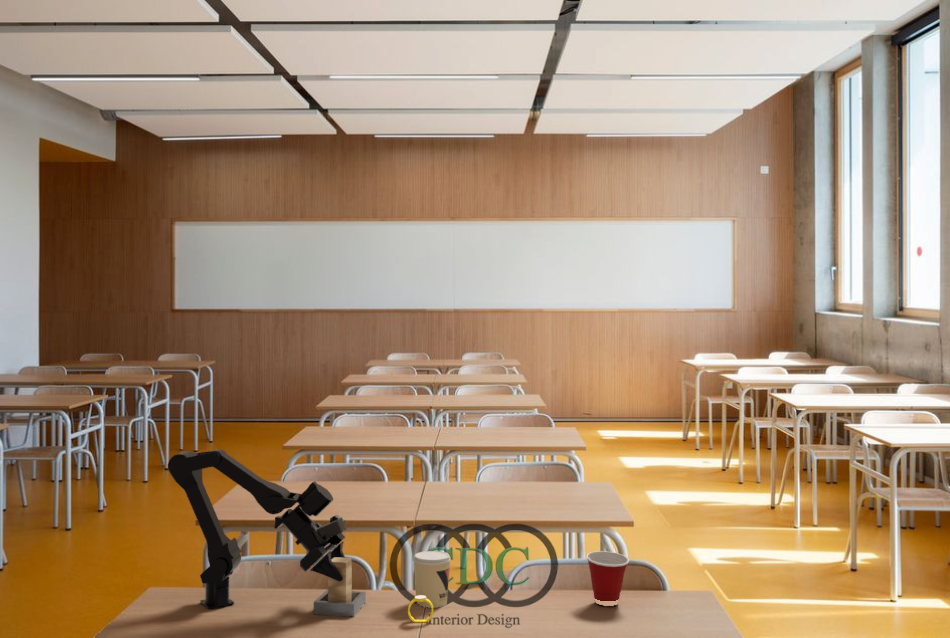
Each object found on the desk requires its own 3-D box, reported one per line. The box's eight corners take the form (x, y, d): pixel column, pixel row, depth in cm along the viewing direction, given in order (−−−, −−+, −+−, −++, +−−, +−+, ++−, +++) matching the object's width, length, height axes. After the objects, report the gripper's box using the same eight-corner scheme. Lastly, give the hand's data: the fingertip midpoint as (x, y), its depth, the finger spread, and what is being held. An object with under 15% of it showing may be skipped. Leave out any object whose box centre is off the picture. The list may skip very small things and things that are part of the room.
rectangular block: (328, 611, 212) (328, 561, 213) (334, 605, 217) (334, 557, 217) (345, 612, 212) (346, 562, 212) (351, 606, 216) (351, 557, 216)
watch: (408, 625, 204) (406, 599, 204) (408, 621, 207) (407, 595, 207) (433, 623, 205) (432, 597, 205) (433, 619, 207) (432, 594, 207)
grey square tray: (313, 614, 210) (313, 601, 210) (327, 601, 220) (327, 589, 220) (353, 616, 209) (354, 604, 209) (365, 603, 218) (365, 591, 219)
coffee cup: (445, 610, 214) (445, 561, 214) (408, 607, 216) (409, 558, 216) (453, 598, 223) (454, 551, 224) (418, 596, 225) (419, 549, 226)
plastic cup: (605, 613, 213) (605, 564, 214) (576, 601, 222) (577, 554, 223) (638, 606, 219) (638, 558, 219) (608, 594, 228) (609, 548, 229)
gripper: (313, 514, 206) (358, 564, 204) (337, 499, 224) (378, 545, 223) (281, 546, 207) (325, 596, 205) (307, 529, 226) (348, 574, 224)
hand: (346, 576), depth 214 cm, fingers open, 6 cm apart
